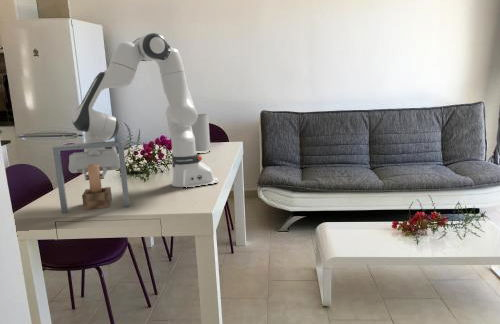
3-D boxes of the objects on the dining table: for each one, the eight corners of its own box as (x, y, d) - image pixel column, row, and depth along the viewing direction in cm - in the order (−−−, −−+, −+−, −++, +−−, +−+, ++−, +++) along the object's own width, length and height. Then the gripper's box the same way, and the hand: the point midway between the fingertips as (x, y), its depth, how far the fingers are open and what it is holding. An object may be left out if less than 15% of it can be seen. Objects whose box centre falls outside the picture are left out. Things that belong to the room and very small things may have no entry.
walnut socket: (112, 200, 187) (110, 186, 185) (109, 207, 177) (107, 193, 176) (87, 202, 185) (85, 189, 183) (83, 209, 175) (82, 195, 174)
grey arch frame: (130, 202, 182) (123, 140, 176) (129, 206, 177) (122, 142, 171) (64, 209, 177) (55, 145, 172) (61, 213, 172) (52, 147, 166)
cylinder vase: (194, 150, 298) (191, 114, 293) (212, 150, 296) (210, 113, 291) (189, 154, 286) (186, 116, 281) (208, 153, 284) (205, 115, 279)
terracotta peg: (102, 191, 182) (99, 163, 180) (101, 194, 178) (98, 165, 176) (91, 192, 181) (88, 164, 179) (89, 195, 177) (86, 166, 175)
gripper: (67, 148, 181) (65, 176, 173) (118, 145, 185) (118, 172, 177) (71, 157, 186) (69, 185, 178) (120, 154, 190) (120, 180, 182)
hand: (94, 178), depth 178 cm, fingers closed on terracotta peg, 4 cm apart
